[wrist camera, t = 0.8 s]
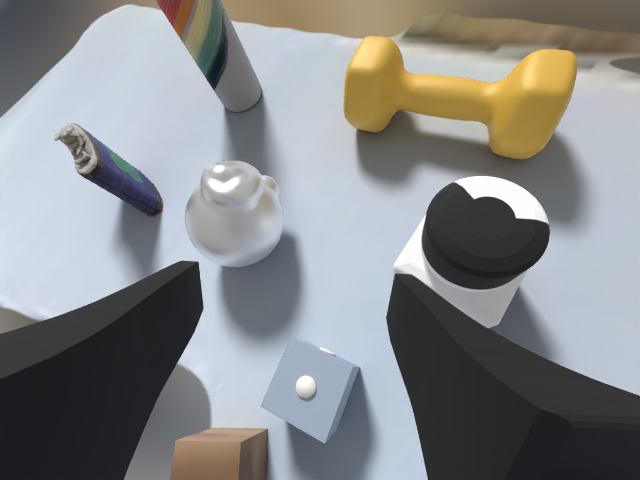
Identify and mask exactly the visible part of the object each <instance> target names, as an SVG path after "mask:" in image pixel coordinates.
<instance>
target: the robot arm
mask: <svg viewBox="0 0 640 480" xmlns="http://www.w3.org/2000/svg"><path fill="white" fill-rule="evenodd" d="M202 311H203V299H202V290H201V281H200V271H199V262H193V261H180V262H177V263H175V264H173V265H170V266H168V267H166V268H164V269H162V270H160V271H158V272H156V273H154V274H152V275H150V276H148V277H146V278H144V279H142V280H140V281H138V282H136V283H134V284H132V285H130V286H128V287H126V288H124V289H122V290H120V291H117V292H115V293H113V294H111V295H109V296H107V297H105V298H102V299H100V300H98V301H95V302H93V303H91V304H88V305H86V306H83V307H81V308H78V309H75V310H73V311H70V312H67V313H65V314H62V315H59V316H56V317H54V318H50V319H47V320H44V321H41V322H38V323H35V324H32V325H28V326H25V327H22V328H19V329H16V330H13V331H10V332H6V333H2V334H0V480H124V477H125V475H126V472H127V469H128V467H129V464H130V462H131V459H132V457H133V454H134V452H135V450H136V447H137V445H138V442H139V440H140V437H141V435H142V433H143V430H144V428H145V426H146V423H147V421H148V419H149V417H150V414H151V412H152V410H153V407H154V405H155V403H156V401H157V398H158V397H159V395H160V392H161V391H162V389H163V387H164V385H165V383H166V382H167V380H168V378H169V376H170V374H171V373H172V371H173V369H174V368H175V366H176V364H177V362H178V361H179V359H180V357H181V355H182V353H183V352H184V350H185V348H186V346H187V344H188V343H189V341H190V339H191V337H192V335H193V333H194V332H195V329H196V327H197V324H198V322H199V319H200V316H201V314H202ZM386 319H387V325H388V331H389V336H390V341H391V344H392V348H393V351H394V354H395V357H396V360H397V363H398V366H399V369H400V372H401V375H402V378H403V381H404V383H405V386H406V389H407V392H408V395H409V398H410V402H411V405H412V409H413V412H414V417H415V421H416V425H417V430H418V434H419V438H420V443H421V448H422V453H423V457H424V462H425V467H426V472H427V477H428V480H640V396H638V395H636V394H633V393H630V392H627V391H625V390H622V389H619V388H616V387H613V386H611V385H608V384H605V383H602V382H599V381H597V380H594V379H592V378H589V377H587V376H584V375H582V374H580V373H577V372H575V371H572V370H570V369H567V368H565V367H563V366H560V365H558V364H556V363H554V362H552V361H549V360H547V359H545V358H543V357H541V356H539V355H537V354H535V353H533V352H531V351H528V350H526V349H524V348H522V347H520V346H518V345H517V344H515V343H513V342H511V341H509V340H507V339H505V338H504V337H502V336H500V335H498V334H497V333H495V332H493V331H492V330H490V329H488V328H486V327H485V326H483V325H482V324H480V323H478V322H477V321H475V320H474V319H472V318H471V317H469V316H468V315H466V314H465V313H463V312H462V311H461V310H459V309H458V308H456V307H455V306H454V305H452V304H451V303H450V302H448V301H447V300H445V299H444V298H443V297H442V296H440V295H439V294H438V293H436V292H435V291H434V290H432V289H431V288H430V287H429V286H427V285H426V284H425V283H423V282H422V281H421V280H419V279H418V278H417V277H415V276H414V275H412V274H399V273H395V276H394V281H393V286H392V291H391V296H390V302H389V307H388V312H387V317H386Z"/></svg>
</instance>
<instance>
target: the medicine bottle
mask: <svg viewBox="0 0 640 480" xmlns="http://www.w3.org/2000/svg"><path fill="white" fill-rule="evenodd" d="M549 235H550V229H549V222H548V218H547V216H546V213H545V211H544V209H543V208H542V206H541V204H540V203H539V202H538V201H537V200H536V198H535V197H534V196H532V195H531V194H530V193H529V192H528V191H526V190H525V189H524V188H522V187H520V186H518V185H517V184H515V183H512V182H510V181H507V180H504V179H501V178H496V177H489V176H475V177H468V178H464V179H460V180H458V181H455V182H453V183H451V184H449V185H447V186H446V187H444V188H443V189H442V190H440V191H439V192H438V193H437V194H436V196H435V197H434V198H433V199H432V201H431V203H430V205H429V207H428V210H427V213H426V215H425V217H424V218H423V220H422V221H421V223H420V224H419V226H418V228H417V229H416V231H415V232H414V234H413V235H412V237H411V239H410V240H409V242H408V243H407V245H406V246H405V248H404V250H403V251H402V253H401V254H400V256H399V257H398V259H397V261H396V262H395V264H394V266H393V281H394V276H395V273H399V274H412V275H414V276H415V277H417V278H418V279H419V280H421V281H422V282H423V283H425V284H426V285H427V286H429V287H430V288H431V289H432V290H434V291H435V292H436V293H438V294H439V295H440V296H442V297H443V298H444V299H445V300H447V301H448V302H450V303H451V304H452V305H454V306H455V307H456V308H458V309H459V310H461V311H462V312H463V313H465V314H466V315H468V316H469V317H471V318H472V319H474V320H475V321H477V322H478V323H480V324H482V325H483V326H485V327H486V328H488V329H490V328H492V327H495V326H497V325H498V324H499V323H500V321H501V319H502V317H503V315H504V313H505V311H506V309H507V307H508V306H509V304H510V302H511V300H512V298H513V296H514V294H515V292H516V290H517V288H518V287H519V285H520V283H521V281H522V279H523V277H524V275H525V273H526V271H527V270H528V269H529V268H530V267H532V266H533V265H534V264H535V263H536V262H537V261H538V260H539V259H540V258H541V256H542V255H543V254H544V252H545V250H546V248H547V245H548V242H549Z"/></svg>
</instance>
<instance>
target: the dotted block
mask: <svg viewBox="0 0 640 480" xmlns="http://www.w3.org/2000/svg"><path fill="white" fill-rule="evenodd" d="M359 368H360V367H359V366H357V365H355V364H353V363H351V362H349V361H347V360H344V359H342V358H340V357H338V356H336V354H335V353H333V352H331V351H329V350H327V349H325V348H322V347H320V348H319V347H316V346H314V345H312V344H310V343H308V342H305V341H301V340H298V339H294V338H291V337H290V340H289V342H288V344H287V347H286V349H285V351H284V353H283V356H282V358H281V360H280V363H279V365H278V367H277V370H276V372H275V374H274V376H273V379H272V381H271V383H270V386H269V388H268V390H267V393H266V395H265V397H264V399H263V402H262V404H261V407H262V408H264V409H266V410H268V411H269V412H271V413H273V414H274V415H276V416H278V417H280V418H281V419H283V420H285V421H286V422H288V423H290V424H292V425H293V426H295V427H297V428H298V429H300V430H302V431H304V432H305V433H307V434H309V435H311V436H312V437H314V438H316V439H317V440H319V441H321V442H323V443H324V444H325V443H326V442H327V441H328V440H329V438H330V437H331V436H332V435H333V434H334V433H335V432H336V430H337V429H338V426H339V423H340V421H341V418H342V415H343V412H344V410H345V407H346V404H347V401H348V398H349V396H350V393H351V390H352V387H353V385H354V382H355V379H356V376H357V373H358V371H359Z"/></svg>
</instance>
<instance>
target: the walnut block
mask: <svg viewBox="0 0 640 480" xmlns="http://www.w3.org/2000/svg"><path fill="white" fill-rule="evenodd" d="M267 432H268V429H247V428H211V429H208V430H205V431H202V432H200V433H197V434H193V435H191V436H188V437H185V438H182V439H179V440H176V443H175V449H174V457H173V464H172V471H171V478H170V480H266V458H267Z"/></svg>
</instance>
